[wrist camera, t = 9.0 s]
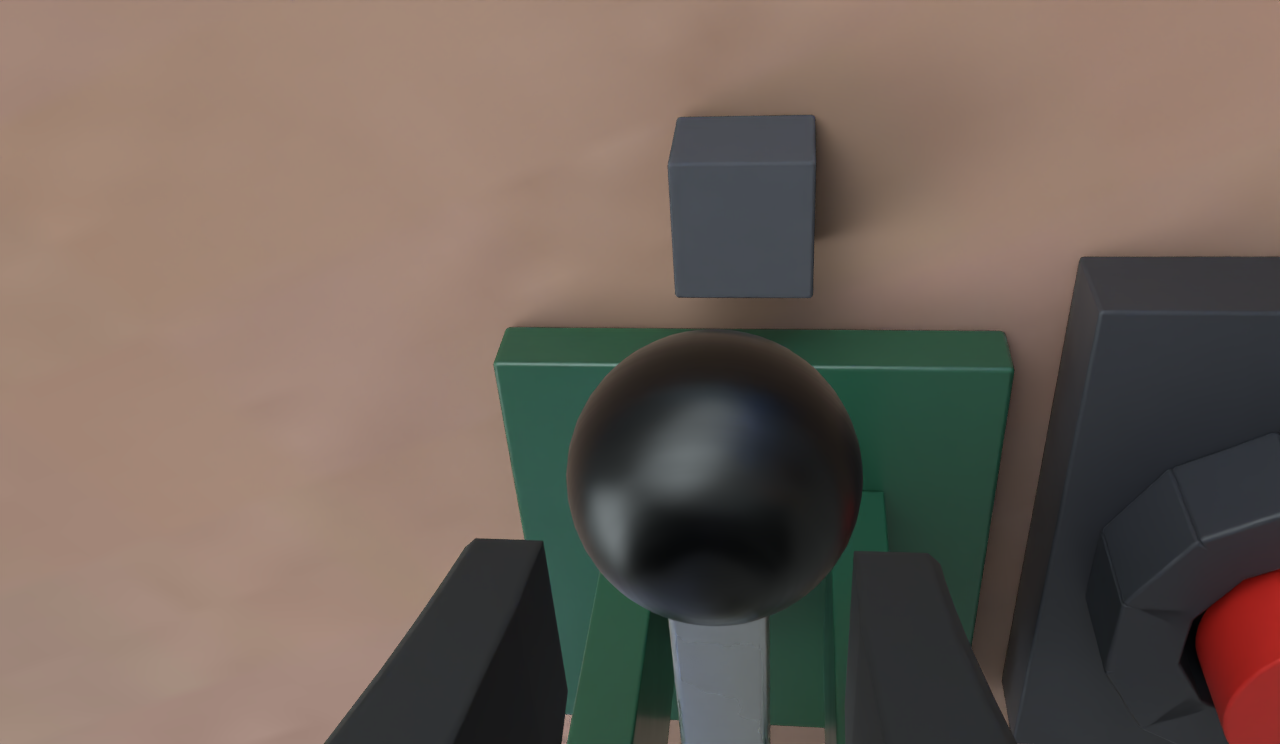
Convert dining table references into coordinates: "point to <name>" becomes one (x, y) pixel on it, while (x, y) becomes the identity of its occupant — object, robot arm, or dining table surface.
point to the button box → (1147, 498)
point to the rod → (715, 506)
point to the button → (1244, 659)
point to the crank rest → (743, 206)
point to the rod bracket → (887, 522)
